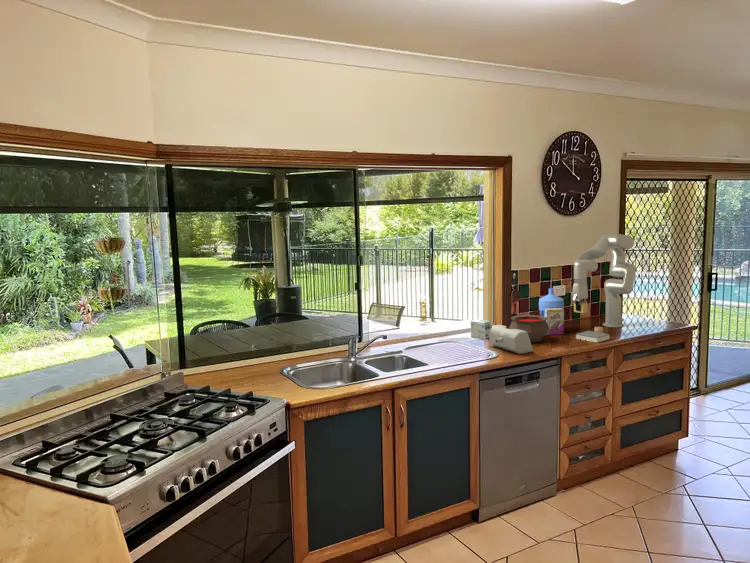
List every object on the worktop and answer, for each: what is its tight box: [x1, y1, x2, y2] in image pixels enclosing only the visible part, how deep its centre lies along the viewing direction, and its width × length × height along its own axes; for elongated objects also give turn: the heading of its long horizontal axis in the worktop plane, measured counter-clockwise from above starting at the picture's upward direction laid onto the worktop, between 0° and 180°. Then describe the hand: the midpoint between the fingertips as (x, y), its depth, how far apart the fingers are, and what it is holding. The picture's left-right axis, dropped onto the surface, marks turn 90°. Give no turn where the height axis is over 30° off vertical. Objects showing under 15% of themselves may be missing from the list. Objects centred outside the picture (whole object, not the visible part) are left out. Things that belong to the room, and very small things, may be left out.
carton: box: [573, 300, 589, 314], centre depth 332 cm, size 5×7×7 cm
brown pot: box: [508, 311, 549, 343], centre depth 325 cm, size 24×24×16 cm
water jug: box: [538, 287, 565, 317], centre depth 346 cm, size 16×16×28 cm
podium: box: [575, 330, 611, 343], centre depth 321 cm, size 13×14×3 cm
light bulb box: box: [470, 319, 491, 340], centre depth 336 cm, size 11×7×11 cm, turn 47°
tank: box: [489, 324, 534, 355], centre depth 304 cm, size 25×16×12 cm, turn 26°
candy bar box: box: [545, 308, 565, 336], centre depth 336 cm, size 11×5×16 cm, turn 88°
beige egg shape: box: [593, 326, 604, 333], centre depth 329 cm, size 5×5×5 cm
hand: (580, 309), depth 332 cm, fingers closed on carton, 4 cm apart
